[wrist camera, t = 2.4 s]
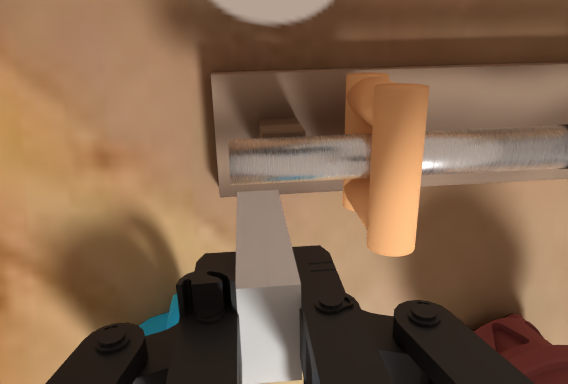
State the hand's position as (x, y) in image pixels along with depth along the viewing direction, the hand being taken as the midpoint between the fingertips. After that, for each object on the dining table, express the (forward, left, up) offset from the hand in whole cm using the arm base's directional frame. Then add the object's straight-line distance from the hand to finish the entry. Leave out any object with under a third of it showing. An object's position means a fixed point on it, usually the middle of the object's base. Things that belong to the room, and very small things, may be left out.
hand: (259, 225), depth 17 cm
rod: (0, +14, -9) cm, 16 cm away
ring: (0, +7, -12) cm, 13 cm away
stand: (0, +14, -15) cm, 20 cm away
